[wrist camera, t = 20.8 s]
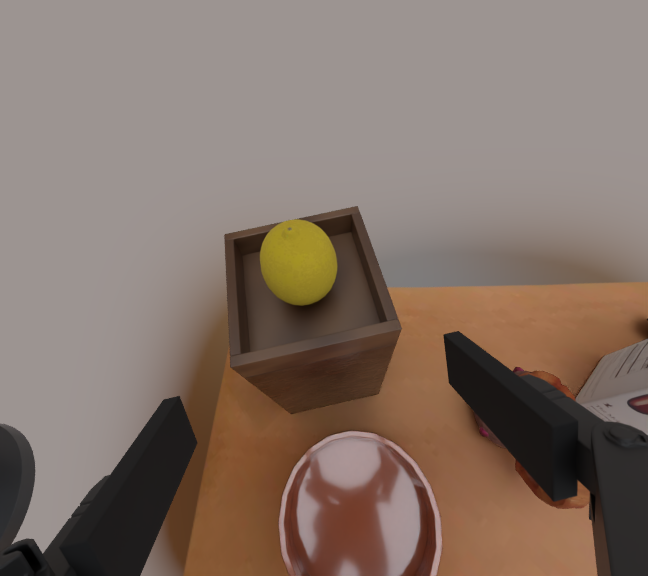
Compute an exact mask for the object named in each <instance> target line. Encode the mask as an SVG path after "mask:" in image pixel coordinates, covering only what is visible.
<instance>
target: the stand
mask: <svg viewBox="0 0 648 576" xmlns="http://www.w3.org/2000/svg"><path fill="white" fill-rule="evenodd" d="M395 346H396V344H392V345H387V346H383V347H378V348H374V349H370V350H365V351H361V352H356V353H352V354H347V355H343V356H339V357H334V358H330V359H325V360H321V361H317V362H312V363H308V364H303V365H299V366H294V367H290V368H286V369H281V370H277V371H272V372H268V373H264V374H259V375H255V376H250V377H246V378H245V379H246V380H248V381H249V382H250V383H252V384H253V385H254V386H256V387H257V388H258V389H259V390H261V391H262V392H263V393H265V394H266V395H267V396H268V397H270V398H271V399H272V400H274V401H275V402H276V403H278V404H279V405H280V406H281V407H283V408H284V409H285V410H287V411H288V412H289V413H290V414H293V413H298V412H302V411H306V410H311V409H315V408H319V407H324V406H328V405H332V404H337V403H341V402H345V401H350V400H354V399H358V398H363V397H367V396H371V395H376V394H378V393H379V391H380V388H381V385H382V382H383V379H384V377H385V374H386V371H387V368H388V365H389V363H390V360H391V357H392V354H393V351H394V349H395Z"/></svg>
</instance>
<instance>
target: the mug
mask: <svg viewBox="0 0 648 576" xmlns="http://www.w3.org/2000/svg"><path fill="white" fill-rule="evenodd" d="M513 372H514V373H515V374H517V375H518V376H523V375H528V374H530V375H533V376H535V377H538V378H541V379H543V380H545V381H547V382H548V383H550V384H551V385H552V386H554V387H555V388H556V389H557V390H560V391H561V392H563V393H564V394H566V396H567V397H570V398H571V399H573V400H574V401H576V399H575V397H574V395H573V394H572V393H571V392H570V391H569V389H568V387H567V386H564V385H562V384H561V381H560V379H559V378H557V377H556V376H554V375H552V374H550V373H547V372H544V371H534V372H528V371H524V370H523V369H521V368H520V367H515V369H514V370H513ZM474 415H475V419H476V422H477V424H478V426H479V428H480V434H481V435H482V436H484V437H487V438H488V439H490V440H491V441H492V442H493V443H495V444H496V445H498V446H499V447H502V448H506V447H505V446H504V445H503V444H502V443H501V442H500V440H499V439H498V438H497V437H496V436H495V435H494V434H493V432H492V431H491V430H490V429H489V428H488V427H487V426H486V424H485V423H484V422H483V421H482V420H481V419H480V418H479V416H478V415H477V414H476V413H475V412H474ZM515 468H516V471H517V472H518V473H519V475H520V476H521V477H522V478H523V480H524V481H525V483H526V484H527V485H528V486H529V488H530V489H531V490H532V491H533V493H534V494H535V495H536V496H537V497H538V498H539V499H541V500H542V501H544V502H545V503H547V504H549V505H551V506H554V507H556V508H562V509H566V508H567V509H569V508H583V507H585V506H586V505H587V504H588V503H589V502H590V491H589V490H588V489H587V488H586V487H584V486H583V485H582V484H581V483H580V482H579V481H578V492H577V496H575V497H571V498H567V499H563V500H559V501H555V502H553V501H552V500H551V498H550V497H549V496H548V495H547V494H546V493H545V492H544V490H543V489H542V488H541V487H540V486H539V485H538V484H537V482H536V481H535V480H534V479H533V478H532V477H531V476H530V474H529V473H528V472H527V471H526V470H525V469H524V468H523V467H522V465H521V464H520V463H519V462H518V461H517V460H516V463H515Z"/></svg>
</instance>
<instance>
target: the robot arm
mask: <svg viewBox="0 0 648 576" xmlns="http://www.w3.org/2000/svg"><path fill="white" fill-rule="evenodd" d="M444 343H445V352H446V361H447V369H448V378H449V384H450V385H451V386H452V387H453V388H454V389H455V390H456V391H457V393H458V394H459V395H460V396H461V397H462V398H463V399H464V401H465V402H466V403H467V404H468V405H469V406H470V407H471V409H472V410H473V411H474V412H475V413H476V414H477V415H478V416H479V418H480V419H481V420H482V421H483V422H484V423H485V424H486V426H487V427H488V428H489V429H490V430H491V431H492V432H493V434H494V435H495V436H496V437H497V438H498V439H499V440H500V442H501V443H502V444H503V445H504V446H505V447H506V448H507V449H508V451H509V452H510V453H511V454H512V455H513V456H514V457H515V459H516V460H517V461H518V462H519V463H520V464H521V465H522V467H523V468H524V469H525V470H526V471H527V472H528V473H529V474H530V476H531V477H532V478H533V479H534V480H535V481H536V482H537V484H538V485H539V486H540V487H541V488H542V489H543V490H544V492H545V493H546V494H547V495H548V496H549V497H550V498H551V500H552V501H553V502H555V501H559V500H563V499H567V498H571V497H575V496H577V492H578V481H579V482H580V483H581V484H582V485H583V486H584V487H586V488H587V489H588V490H589V491H590V502H589V519H590V520H592V528H593V537H594V546H595V556H596V565H597V574H598V576H648V435H647V434H645V433H644V432H643V431H641V430H639V429H637V428H635V427H632V426H630V425H626V424H623V423H619V422H610V421H604V420H602V419H601V418H599V417H598V416H596V415H595V414H593V413H592V412H590V411H589V410H588V409H586V408H585V407H583V406H582V405H580V404H579V403H577V402H576V401H574V400H573V399H571V398H570V397H567V396H566V394H564V393H563V392H561V391H560V390H557V389H556V388H555V387H554V386H552V385H551V384H550V383H548V382H547V381H545V380H543V379H541V378H538V377H535V376H533V375H530V374H528V375H523V376H518V375H517V374H515V373H514V372H513V371H511V370H510V369H509V368H507V367H506V366H504V365H503V364H502V363H500V362H499V361H498V360H496V359H495V358H494V357H492V356H491V355H490V354H488V353H487V352H486V351H484V350H483V349H482V348H480V347H479V346H478V345H476V344H475V343H474V342H472V341H471V340H470V339H468V338H467V337H466V336H464V335H463V334H462V333H460V332H459V331H457V332H452V333H448V334H444ZM196 445H197V440H196V438H195V435H194V433H193V430H192V427H191V425H190V422H189V420H188V417H187V414H186V412H185V409H184V406H183V404H182V401H181V399H180V396H177V397H173V398H169V399H164V400H163V401H162V403H161V404H160V406H159V407H158V408H157V410H156V411H155V413H154V414H153V415H152V417H151V418H150V420H149V421H148V422H147V424H146V426H145V427H144V428H143V430H142V431H141V432H140V434H139V435H138V437H137V438H136V440H135V441H134V442H133V444H132V445H131V447H130V448H129V449H128V451H127V452H126V453H125V455H124V456H123V458H122V459H121V461H120V462H119V463H118V465H117V466H116V468H115V469H114V470H113V472H112V473H111V475H108V476H105V477H104V478H103V479H102V480H100V481H99V482H98V483H97V484H96V485H95V486H94V487H93V488H92V489H91V490H90V491H89V492H88V494H87V495H86V497H85V498H84V499H83V501H82V502H81V503H80V506H78V508H77V509H76V510H75V511H74V513H73V514H72V517H71V518H69V519H68V521H67V522H66V524H65V525H64V526H63V528H62V529H61V530H60V532H59V533H58V534H57V536H56V537H55V538H54V540H53V541H52V542H51V544H50V545H49V546H48V548H47V549H46V550H45V552H44V553H43V554H42V552H41V551H40V549H39V547H38V546H37V544H36V542H35V541H34V539H24V540H21V541H18V542H16V543H14V544H12V545H10V546H8V547H6V548H5V549H3V550H2V551H0V576H140V575H141V572H142V570H143V568H144V565H145V563H146V561H147V558H148V556H149V554H150V552H151V549H152V547H153V544H154V542H155V540H156V537H157V535H158V533H159V531H160V528H161V526H162V524H163V521H164V519H165V517H166V514H167V512H168V510H169V507H170V505H171V503H172V501H173V498H174V496H175V494H176V491H177V489H178V487H179V484H180V482H181V480H182V477H183V475H184V473H185V470H186V468H187V466H188V464H189V461H190V459H191V457H192V454H193V452H194V449H195V447H196Z"/></svg>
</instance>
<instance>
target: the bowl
mask: <svg viewBox="0 0 648 576" xmlns="http://www.w3.org/2000/svg"><path fill="white" fill-rule="evenodd" d="M278 522H279V523H278V525H279V535H280V545H281V554H282V557H283V560H284V563H285V565H286V568H287V571H288V573H289V576H437V572H438V568H439V563H440V558H441V554H442V531H441V516H440V513H439V509H438V506H437V503H436V500H435V497H434V494H433V491H432V488H431V485H430V484H429V482H428V480H427V479H426V477H425V476H424V474H423V472H422V471H421V469H420V468H419V466H418V465H417V463H416V462H415V460H414V459H412V458H411V457H410V456H409V455H408V454H407V453H406V452H405V451H404V450H403V449H401V448H400V447H399V446H398V445H397V444H395V443H394V442H392V441H390V440H388V439H386V438H384V437H381V436H379V435H377V434H375V433H371V432H362V431H354V430H350V431H346V432H341V433H337V434H333V435H329V436H327V437H326V438H324V439H323V440H321V441H320V442H318V443H316V444H315V445H313V446H312V447H310V448H309V449H308V450H307V452H306V453H305V454H304V455H303V456H302V458H301V459H300V460H299V461H298V463H297V464H296V465H295V466H294V468H293V470H292V472H291V475H290V477H289V479H288V481H287V484H286V486H285V488H284V491H283V494H282V500H281V507H280V514H279V520H278Z"/></svg>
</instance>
